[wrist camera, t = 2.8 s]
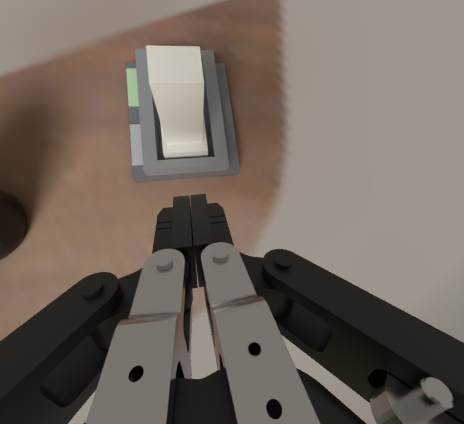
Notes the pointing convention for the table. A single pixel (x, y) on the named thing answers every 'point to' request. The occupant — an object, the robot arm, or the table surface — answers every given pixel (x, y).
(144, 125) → the grey slotted stand
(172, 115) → the block
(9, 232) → the supplement bottle
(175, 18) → the table surface
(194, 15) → the table surface
